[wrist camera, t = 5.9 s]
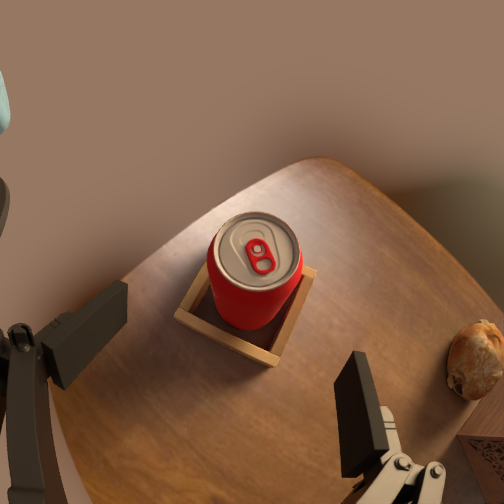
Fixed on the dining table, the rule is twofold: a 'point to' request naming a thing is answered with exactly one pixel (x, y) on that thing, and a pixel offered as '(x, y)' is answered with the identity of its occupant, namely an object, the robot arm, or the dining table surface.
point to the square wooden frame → (232, 342)
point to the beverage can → (253, 268)
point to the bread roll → (476, 360)
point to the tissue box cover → (487, 443)
